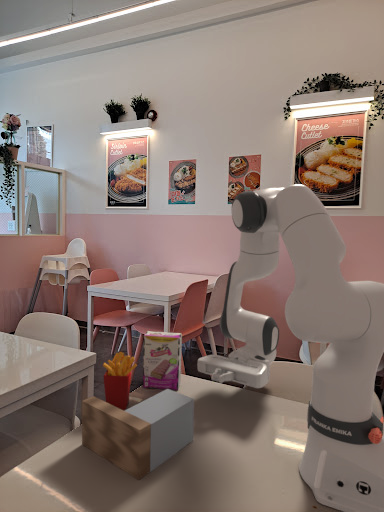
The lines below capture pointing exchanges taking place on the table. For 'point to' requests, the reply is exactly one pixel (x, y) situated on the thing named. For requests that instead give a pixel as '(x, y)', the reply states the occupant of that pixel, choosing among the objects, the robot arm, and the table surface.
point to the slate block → (166, 423)
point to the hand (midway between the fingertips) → (215, 378)
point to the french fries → (118, 380)
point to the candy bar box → (162, 360)
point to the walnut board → (116, 436)
